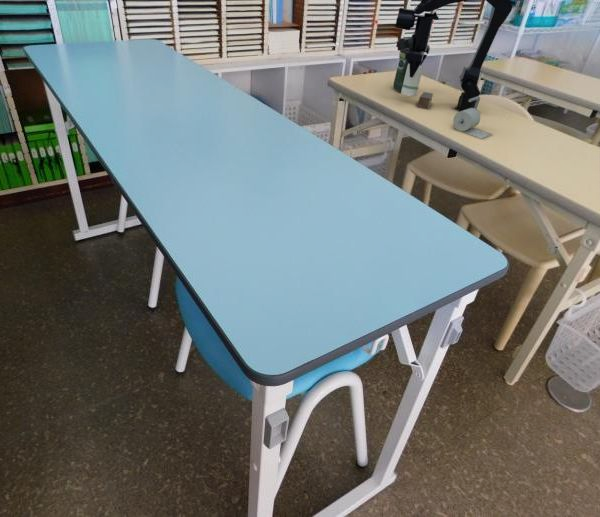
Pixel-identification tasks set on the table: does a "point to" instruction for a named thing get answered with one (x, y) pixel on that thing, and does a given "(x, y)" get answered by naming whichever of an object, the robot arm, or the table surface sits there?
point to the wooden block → (425, 100)
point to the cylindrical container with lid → (411, 81)
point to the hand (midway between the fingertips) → (412, 75)
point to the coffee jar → (401, 70)
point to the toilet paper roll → (469, 120)
